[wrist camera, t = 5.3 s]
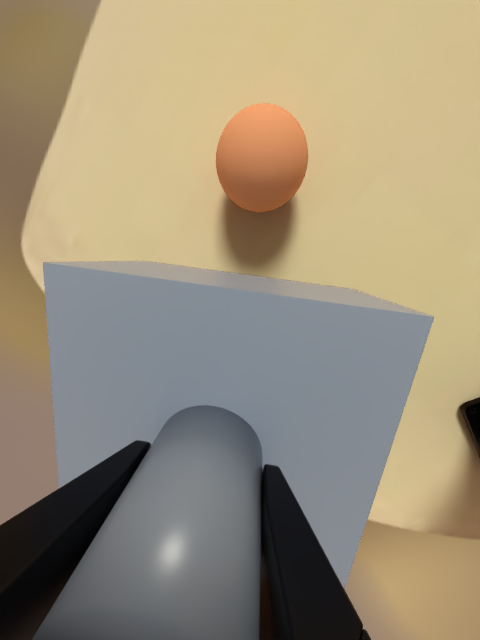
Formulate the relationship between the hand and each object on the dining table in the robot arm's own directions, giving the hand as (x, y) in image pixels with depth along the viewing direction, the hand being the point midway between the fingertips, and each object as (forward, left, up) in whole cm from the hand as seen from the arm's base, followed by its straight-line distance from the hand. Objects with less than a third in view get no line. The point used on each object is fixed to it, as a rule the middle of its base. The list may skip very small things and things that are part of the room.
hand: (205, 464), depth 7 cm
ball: (+9, -6, -10) cm, 15 cm away
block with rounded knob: (0, 0, -6) cm, 6 cm away
